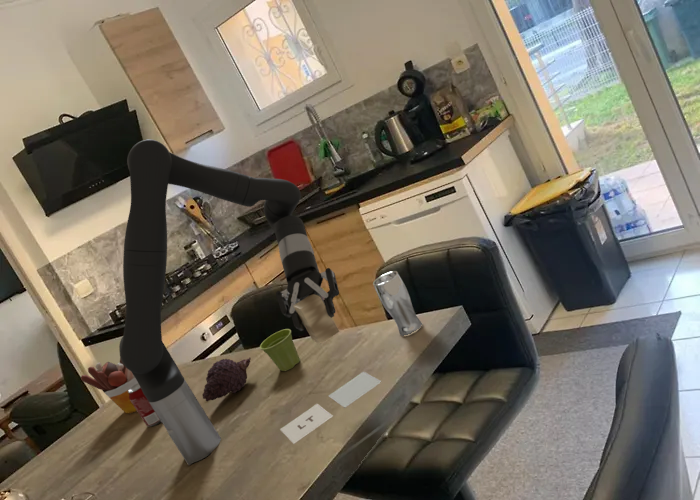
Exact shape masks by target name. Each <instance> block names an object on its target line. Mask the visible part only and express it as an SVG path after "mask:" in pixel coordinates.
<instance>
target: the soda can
mask: <svg viewBox="0 0 700 500" xmlns="http://www.w3.org/2000/svg"><path fill="white" fill-rule="evenodd" d="M128 393H129V399H130V401H131V402H132V404H133V405H134V407H135V408H136V410H137V414H138V415H139V416H140V418H141V419H142V421H143V423H144V424H145V426H147V427H155V426H157V425H159V424H160V423H162V422H161V420H160V419H159V417H158V415H157V414H156V412H155V411H154V409H153V407H152V406H151V404H150V403H149V401H148V400H147V398H146V397H145V395H144V393H143V391H142V389H141V387H140V385H139V383H137V384H135V385H134V386H132V387H131V388H130V389H129V390H128Z"/></svg>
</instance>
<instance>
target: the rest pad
mask: <svg viewBox="0 0 700 500" xmlns="http://www.w3.org/2000/svg"><path fill="white" fill-rule="evenodd" d="M381 381H382V380H380V379H378V378H377V377H375V376H372V375H371V374H369V373H368V372H366V371H362V372H360V373H359V374H358V375H357V376H355V377H354V378H352V379H351V380H349V381H348V382H346V383H344V384H343V385H342V386H341V387H339V388H337V389H335V390H334V392H331V393H330V394H329V395H328V397H329V398H331V399H332V400H333V401H334V402H336V403H337V404H338V405H340V406H341V407H343V408H347V407H348V406H349V405H351V404H353V403H354V402H355V401H357V400H358V399H359V398H361V397H362V396H364V395H365V394H367V393H368V392H370V391H371V390H372V389H374V388H375V387H377V386H378V385H379V384H381V383H382V382H381ZM380 382H381V383H380Z"/></svg>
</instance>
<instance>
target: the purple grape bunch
mask: <svg viewBox="0 0 700 500" xmlns="http://www.w3.org/2000/svg"><path fill="white" fill-rule="evenodd" d="M250 363H251V357H249V358H246V359H243V360H239V361H237V362H236V361H234V360H233V359H230V358H229V359H228V358H225V359H224V358H222V359H219V361H215V362H214V363H213V364H212V366H211V367H210V368H209V369H208V370H207V375H206V377H205V380H206V383H205V384H204V388H203V393H202V399H203V400H205V401H206V402H207V403H208V402H209V401H214V400H216V399H220V398H223V397H226V396H227V395H228V394H230V393H232V394H236V393H237V392H239V391H240V390H242V388H244V387H245V385H246V384H247V379H248V374H247V368H249V366H250Z"/></svg>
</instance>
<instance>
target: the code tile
mask: <svg viewBox="0 0 700 500" xmlns="http://www.w3.org/2000/svg"><path fill="white" fill-rule="evenodd" d="M333 417H334V415H333V414H331V412H329V411H327V410H326V409H325V408H324V407H322V406H321V405H320V404H319V403H315V404H314V405H313V406H312V407H310V408H309V409H307V410H306V411H304V412H302V413H301V414H300V415H299V416H297V417H296V418H294V419H292V420H291V421H290V422H288V423H287V424H286V425H284V426H283V427H281V428H279V430H280V432H281V433H283V434H284V436H285V437H287V439H288V440H289V441H290V442H291V443H292V444H293V445H295V444H296V443H298V442H299V441H301V440H302V439H303V438H304V437H306V436H307V435H308V434H310V433H312V432H313V431H314V430H316V429H317V428H319V427H320V426H322V425H323V424H325V423H326V422H327V421H328V420H330V419H331V418H333Z"/></svg>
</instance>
